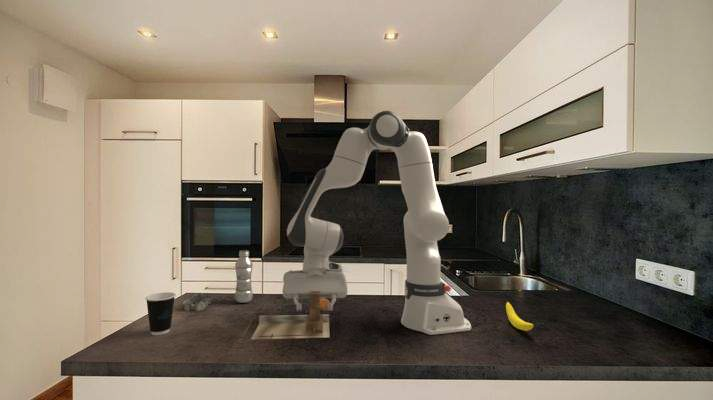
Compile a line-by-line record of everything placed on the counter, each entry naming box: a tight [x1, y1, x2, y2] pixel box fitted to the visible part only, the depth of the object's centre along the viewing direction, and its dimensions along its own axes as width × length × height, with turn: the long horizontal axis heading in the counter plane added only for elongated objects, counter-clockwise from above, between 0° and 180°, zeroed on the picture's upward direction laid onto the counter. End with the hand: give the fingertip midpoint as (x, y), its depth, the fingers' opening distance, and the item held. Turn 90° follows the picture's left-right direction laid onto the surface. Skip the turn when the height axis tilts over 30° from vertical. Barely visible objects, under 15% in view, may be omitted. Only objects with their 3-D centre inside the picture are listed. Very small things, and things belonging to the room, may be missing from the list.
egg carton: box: [182, 293, 213, 312], centre depth 125 cm, size 11×8×4 cm
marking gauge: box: [306, 291, 324, 334], centre depth 101 cm, size 5×8×11 cm, turn 5°
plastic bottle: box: [234, 249, 254, 304], centre depth 131 cm, size 6×7×20 cm
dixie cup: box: [145, 291, 176, 336], centre depth 101 cm, size 8×8×11 cm
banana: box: [505, 300, 534, 332], centre depth 108 cm, size 3×19×6 cm, turn 178°
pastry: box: [320, 298, 331, 311], centre depth 123 cm, size 9×7×4 cm
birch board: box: [250, 313, 330, 340], centre depth 101 cm, size 22×13×4 cm, turn 95°
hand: (314, 309), depth 101 cm, fingers open, 8 cm apart
